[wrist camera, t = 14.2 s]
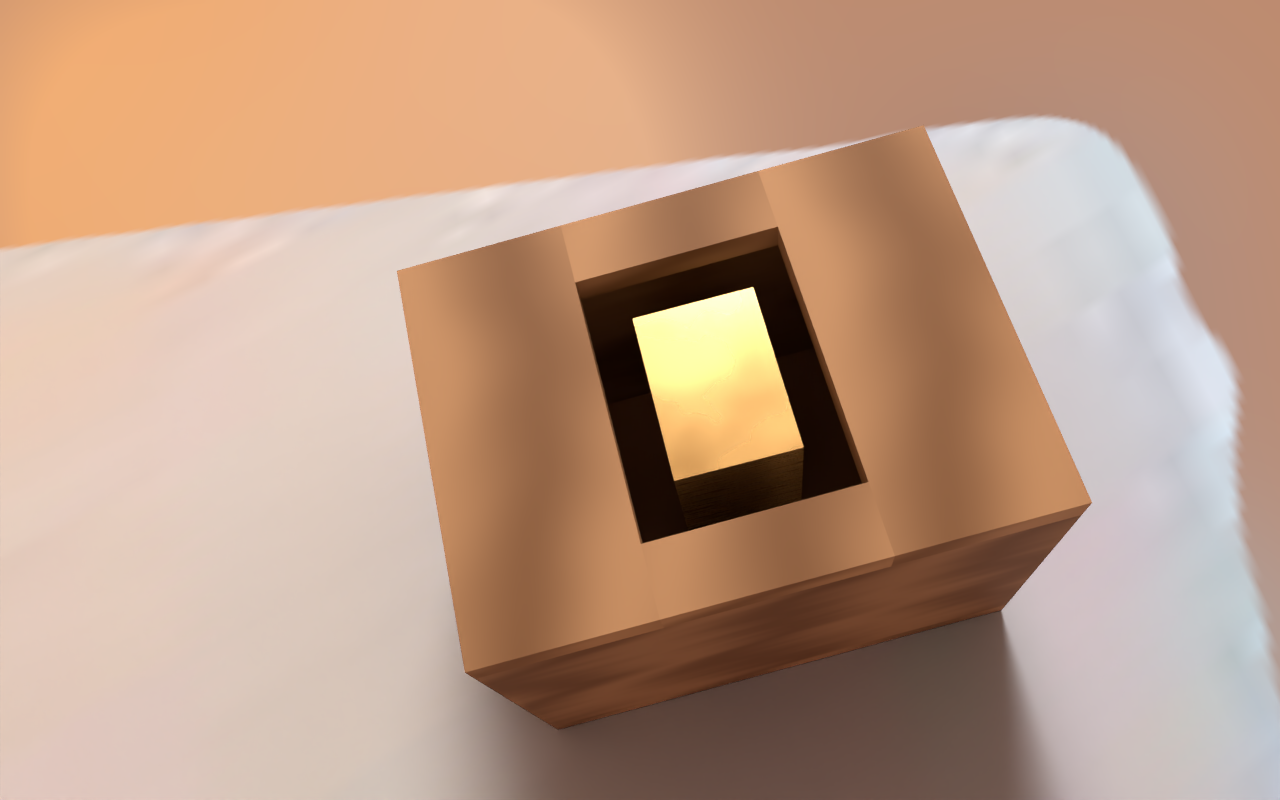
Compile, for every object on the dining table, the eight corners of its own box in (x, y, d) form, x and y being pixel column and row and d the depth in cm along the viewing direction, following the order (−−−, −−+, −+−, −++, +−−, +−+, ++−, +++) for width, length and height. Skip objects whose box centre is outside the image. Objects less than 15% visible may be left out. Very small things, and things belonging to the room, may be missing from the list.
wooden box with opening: (557, 729, 37) (465, 672, 27) (496, 424, 42) (396, 270, 32) (1001, 609, 37) (1092, 502, 26) (887, 317, 42) (923, 125, 31)
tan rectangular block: (702, 582, 38) (673, 480, 28) (670, 455, 40) (632, 318, 30) (798, 558, 38) (803, 447, 28) (760, 432, 40) (753, 287, 30)
